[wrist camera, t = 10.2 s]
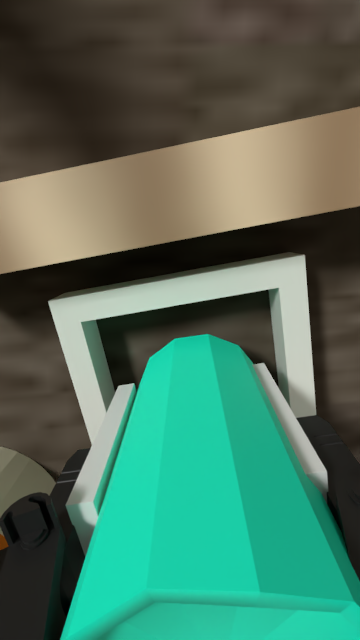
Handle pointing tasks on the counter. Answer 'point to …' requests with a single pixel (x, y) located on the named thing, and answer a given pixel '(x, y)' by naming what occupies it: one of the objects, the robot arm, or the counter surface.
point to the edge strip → (182, 191)
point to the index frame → (182, 288)
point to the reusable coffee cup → (20, 481)
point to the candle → (211, 518)
